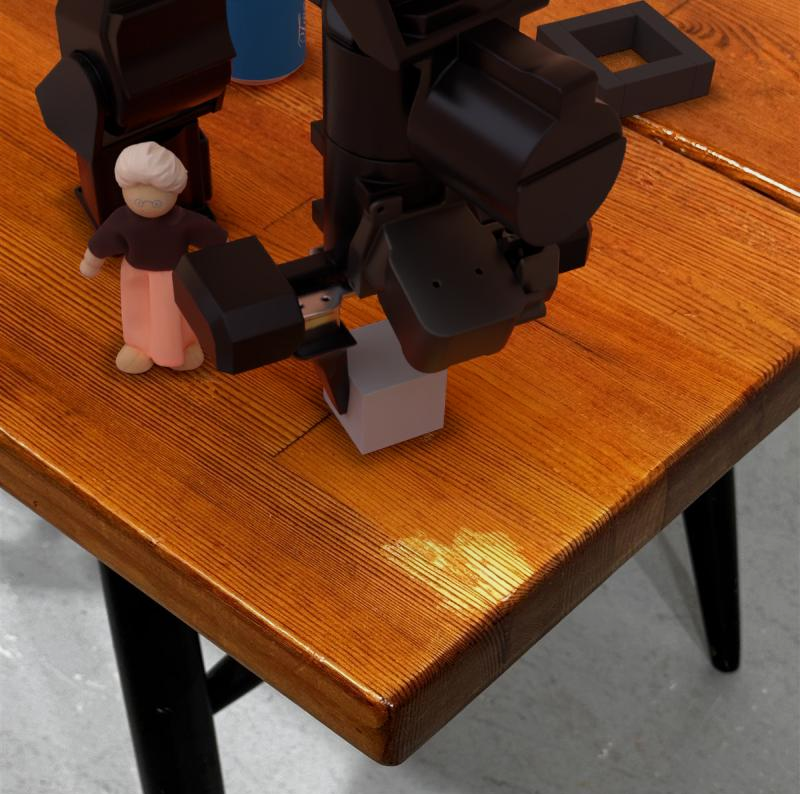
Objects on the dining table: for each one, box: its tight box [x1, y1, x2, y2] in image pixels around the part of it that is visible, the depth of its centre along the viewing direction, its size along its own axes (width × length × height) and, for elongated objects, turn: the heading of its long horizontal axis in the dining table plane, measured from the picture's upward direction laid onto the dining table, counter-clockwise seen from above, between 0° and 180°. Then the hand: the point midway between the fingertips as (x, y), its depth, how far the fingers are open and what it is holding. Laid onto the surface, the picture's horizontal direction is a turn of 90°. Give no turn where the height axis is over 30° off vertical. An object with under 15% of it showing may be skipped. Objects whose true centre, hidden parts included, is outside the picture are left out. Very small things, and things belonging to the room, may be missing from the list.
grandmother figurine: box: [79, 142, 230, 375], centre depth 71 cm, size 8×4×13 cm, turn 106°
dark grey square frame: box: [535, 0, 717, 119], centre depth 94 cm, size 8×8×2 cm
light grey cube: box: [323, 318, 449, 456], centre depth 71 cm, size 4×4×4 cm
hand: (382, 395), depth 72 cm, fingers closed on light grey cube, 4 cm apart
